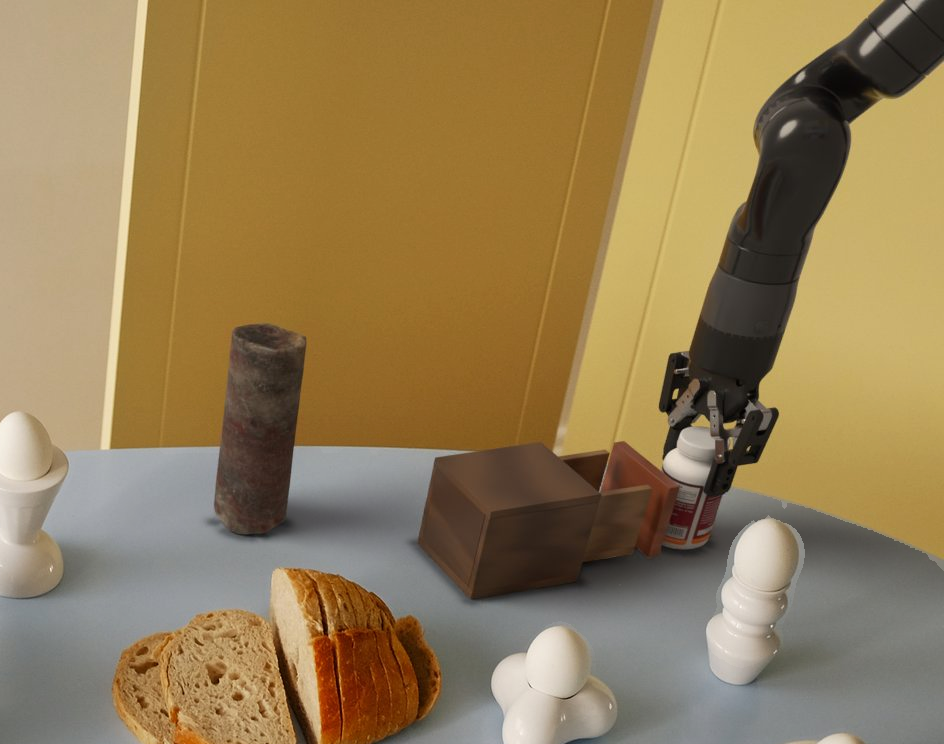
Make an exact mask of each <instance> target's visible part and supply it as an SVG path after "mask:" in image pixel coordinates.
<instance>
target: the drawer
mask: <svg viewBox="0 0 944 744" xmlns="http://www.w3.org/2000/svg"><path fill="white" fill-rule="evenodd" d="M557 456H558V457H559V458H560V459H561V460H562V461H564V462H565V463H566V464H567V465H568V466H569V467H571V468H572V469H573V470H574V471H575V472H576V473H577V474H579V475H580V476H581V477H582V478H583V479H584V480H586V481H587V482H588V483H589V484H590V485H591V486H592V487H594V488H595V489H596V490H597V491H598V492H599V493H601V498H600V501H599V505H598V508H597V512H596V515H595V519H594V522H593V526H592V530H591V533H590V537H589V540H588V544H587V547H586V551H585V555H584V558H583V562H582V563H585V562H587V563H588V562H591V561H598V560H604V559H609V558H610V559H611V558H616V557H622V556H629V555H633V554H634V551H635V548H636V549H637V550H638V551H640V552H641V553H642V554H643V556H645V557H646V558H648V559H651V558H657V557H659V556H660V552H661V550H662V546H663V545H662V543H663V540H664V537H665V534H666V530H667V527H668V524H669V521H670V518H671V514H672V511H673V508H674V505H675V501H676V498H677V495H678V492H679V489H680V486H679V485H678V484H676V483H675V482H674V481H673V480H672V479H670V478H669V477H668V476H667V475H665V474H664V473H663V472H662V471H661V469H659V467H657V466H656V465H654V464H653V463H652V462H651V461H650V460H648V459H647V458H646V457H645V456H643V455H642V454H641V453H640V452H638V451H637V450H636V448H634V447H632V446H631V445H630V444H629V443H628V442H627V441H625V440H622V441H614V442H613V445H612V448H611V452H609V451H608V450H607V449H599V450H593V451H585V452H579V453H572V454H565V455H560V456H559V455H557Z"/></svg>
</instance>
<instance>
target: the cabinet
mask: <svg viewBox="0 0 944 744" xmlns="http://www.w3.org/2000/svg"><path fill="white" fill-rule="evenodd" d="M558 456H559V455H557V454H556V453H555V452H553V451H552V449H550V448H549V447H548V446H546V445H545V444H544V443H543V442H541V441H537V442H530V443H523V444H518V445H511V446H505V447H504V446H503V447H497V448H490V449H484V450H477V451H470V452H462V453H457V454H456V453H455V454H450V455H449V454H448V455H442V456H435V457H434V460H433V466H432V471H431V475H430V480H429V485H428V490H427V495H426V499H425V504H424V509H423V514H422V519H421V524H420V528H419V533H418V537H417V542H416V544H417V545H418V546H419V547H420V548H421V549H422V550H423V552H425V553H426V555H428V556H429V558H431V560H433V562H434V563H435V564H436V565H437V566H438V567H439V568H440V569H441V570H442V572H444V573H445V574H446V575H447V576H448V577H449V579H450V580H452V582H453V583H454V584H455V585H456V586H457V587H458V588H459V589H460V590H461V591H462V592H463V593H464V594H465V595H466V597H468V599H469V600H475V599H481V598H487V597H492V596H499V595H504V594H512V593H516V592H517V593H518V592H523V591H528V590H535V589H541V588H546V587H552V586H558V585H564V584H570V583H577V582H578V580H579V576H580V575H579V574H580V572H581V569H582V565H583V563H584V562H583V558H584V555H585V551H586V547H587V544H588V540H589V537H590V533H591V530H592V526H593V522H594V519H595V515H596V512H597V508H598V505H599V501H600V498H601V493H599V492H600V491H599V492H598V491H597V490H596V489H595V488H594V487H592V486H591V485H590V484H589V483H588V482H587V481H586V480H584V479H583V478H582V477H581V476H580V475H579V474H577V473H576V472H575V471H574V470H573V469H572V468H571V467H569V466H568V465H567V464H566V463H565V462H564V461H562V460H561V459H560V458H559V457H558Z"/></svg>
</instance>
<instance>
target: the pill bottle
mask: <svg viewBox="0 0 944 744" xmlns="http://www.w3.org/2000/svg"><path fill="white" fill-rule="evenodd" d="M692 426H693V425H692ZM731 443H732V442H731V438H728V450H729V449H730V446H731ZM713 460H716V459H715V440H714V439H713V438H711V436H710V426H709V427H708V426H702V425H700V426H699V425H694V426H693V427H688V428H685V429H683V430H682V431H681V433H680V436H679V439H678V441H677V448H675V449H673V450H671V451H670V452H669V453H668V454H667V455H666V457H665V459H664V460H663V463H662V466H661V469H660V471H662V472H663V473H664V474H665V475H667V476H668V477H669V478H670V479H672V480H673V481H674V482H675V483H676V484H678V485H679V486H680V489H679V492H678V495H677V498H676V501H675V505H674V508H673V511H672V514H671V518H670V521H669V524H668V527H667V530H666V534H665V537H664V540H663V543H662V546H663V547H666V548H669V549H673V550H683V551H684V550H685V551H686V550H694V549H698V548H701V547H702V546H704V545H705V544H706V543H707V542H708V541H709V539H710V536H711V534H712V530H713V527H714V524H715V521H716V517H717V514H718V511H719V507H720V504H721V501H722V499H723V495H720V496H713V497H709V496H707V495H706V494H705V493H704V487H705V484H706V481H707V478H708V475H709V472H710V469H711V466H712V462H713Z"/></svg>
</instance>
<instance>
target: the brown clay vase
mask: <svg viewBox="0 0 944 744" xmlns="http://www.w3.org/2000/svg"><path fill="white" fill-rule="evenodd" d="M306 351H307V336H306V335H304V334H299V333H298V332H295V331H293V330H287V329H285V328H283V327H280V326H278V325H277V324H273V323H269V322H261V323H253V324H252V323H250V324H244V325H240V326H236V327H234V328H233V329H232V331H231V339H230V347H229V359H228V368H227V379H226V389H225V399H224V408H223V417H222V427H221V437H220V444H219V452H218V460H217V469H216V479H215V489H214V500H213V501H214V502H213V509H214V514H215V517H217V518H218V520H219V521H220V522H221V523H222V524H223V525H224V526H225V527H226V528H227V529H228V531H230V532H232V533H234V534H238V535H252V534H266V533H267V532H269V531H271V530H272V529H273V528H276V527H277V526H278V525H280V524H282V523H283V522H284V521H285V518H286V516H287V511H288V503H289V494H290V487H291V478H292V469H293V461H294V460H293V459H294V448H295V442H296V434H297V426H298V425H297V424H298V417H299V409H300V402H301V393H302V385H303V377H304V369H305V361H306Z"/></svg>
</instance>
